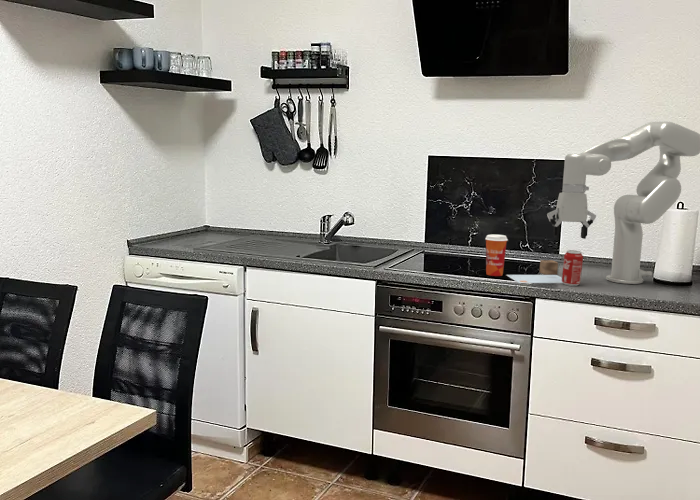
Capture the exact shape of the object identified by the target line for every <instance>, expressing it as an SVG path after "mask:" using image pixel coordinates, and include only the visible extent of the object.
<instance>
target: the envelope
mask: <svg viewBox="0 0 700 500" xmlns="http://www.w3.org/2000/svg"><path fill="white" fill-rule="evenodd" d="M505 276H507V277H508V278H509V279H511V280H514V281H515V282H517V283H518V284H564V283H563V282H562V276H560V275H558V274H557V275H544V274H505Z"/></svg>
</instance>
